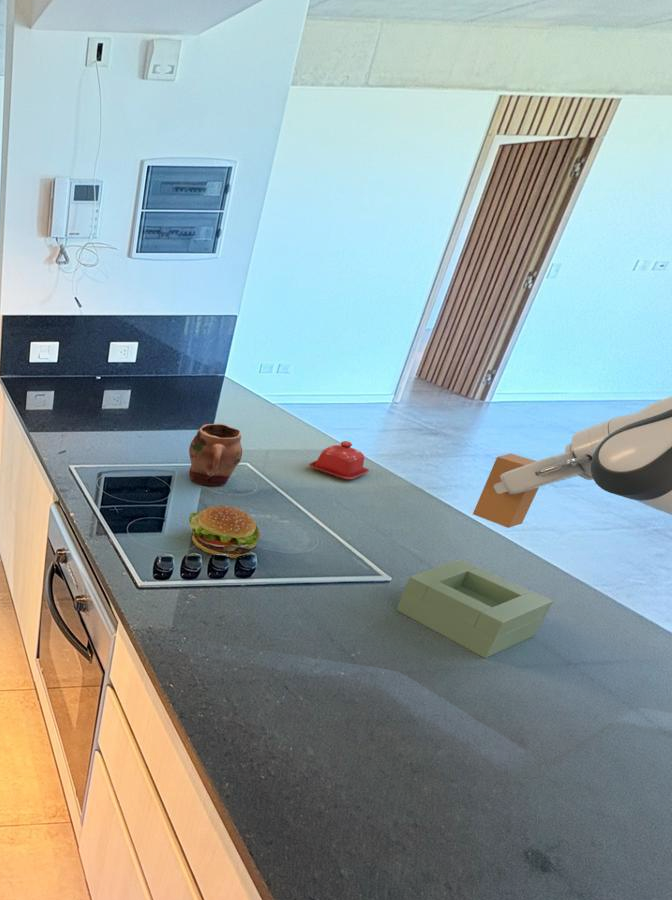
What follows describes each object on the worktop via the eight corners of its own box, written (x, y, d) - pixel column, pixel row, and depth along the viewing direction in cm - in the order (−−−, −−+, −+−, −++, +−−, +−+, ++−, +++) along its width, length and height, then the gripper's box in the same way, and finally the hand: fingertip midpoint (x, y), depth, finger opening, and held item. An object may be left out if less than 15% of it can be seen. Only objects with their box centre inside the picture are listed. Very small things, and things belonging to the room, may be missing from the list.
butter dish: (371, 474, 161) (381, 443, 157) (349, 484, 155) (359, 453, 152) (326, 460, 170) (335, 431, 166) (304, 469, 164) (312, 439, 160)
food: (194, 522, 137) (200, 490, 133) (261, 540, 130) (270, 507, 126) (174, 548, 127) (181, 514, 123) (246, 569, 120) (256, 533, 116)
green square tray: (535, 635, 102) (553, 600, 98) (484, 658, 96) (502, 622, 93) (445, 591, 113) (459, 558, 110) (396, 610, 108) (409, 576, 105)
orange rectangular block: (486, 510, 111) (510, 453, 106) (522, 523, 106) (549, 464, 101) (472, 514, 109) (496, 456, 104) (508, 528, 105) (535, 468, 100)
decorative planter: (240, 501, 147) (253, 446, 140) (186, 495, 149) (197, 442, 143) (229, 469, 164) (240, 419, 158) (181, 465, 167) (190, 415, 160)
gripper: (580, 482, 88) (479, 514, 101) (652, 461, 96) (550, 493, 108) (556, 443, 90) (460, 479, 103) (629, 425, 97) (531, 461, 110)
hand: (506, 486), depth 105 cm, fingers closed on orange rectangular block, 4 cm apart
